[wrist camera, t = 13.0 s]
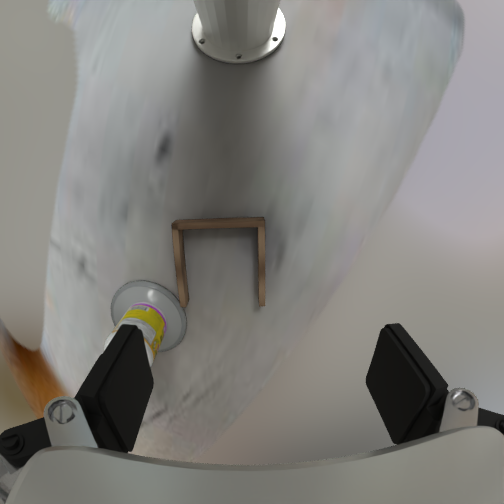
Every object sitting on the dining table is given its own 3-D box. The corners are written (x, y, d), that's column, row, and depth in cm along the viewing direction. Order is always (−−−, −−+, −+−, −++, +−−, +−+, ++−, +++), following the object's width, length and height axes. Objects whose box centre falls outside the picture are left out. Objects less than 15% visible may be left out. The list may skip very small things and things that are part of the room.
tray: (105, 280, 39) (103, 282, 38) (181, 280, 40) (180, 282, 39) (121, 347, 43) (119, 350, 42) (191, 351, 43) (190, 354, 42)
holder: (176, 220, 37) (171, 223, 35) (263, 217, 37) (264, 220, 35) (183, 299, 40) (180, 307, 38) (264, 298, 41) (265, 306, 38)
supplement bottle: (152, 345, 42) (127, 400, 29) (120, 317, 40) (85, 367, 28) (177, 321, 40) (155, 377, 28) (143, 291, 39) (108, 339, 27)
